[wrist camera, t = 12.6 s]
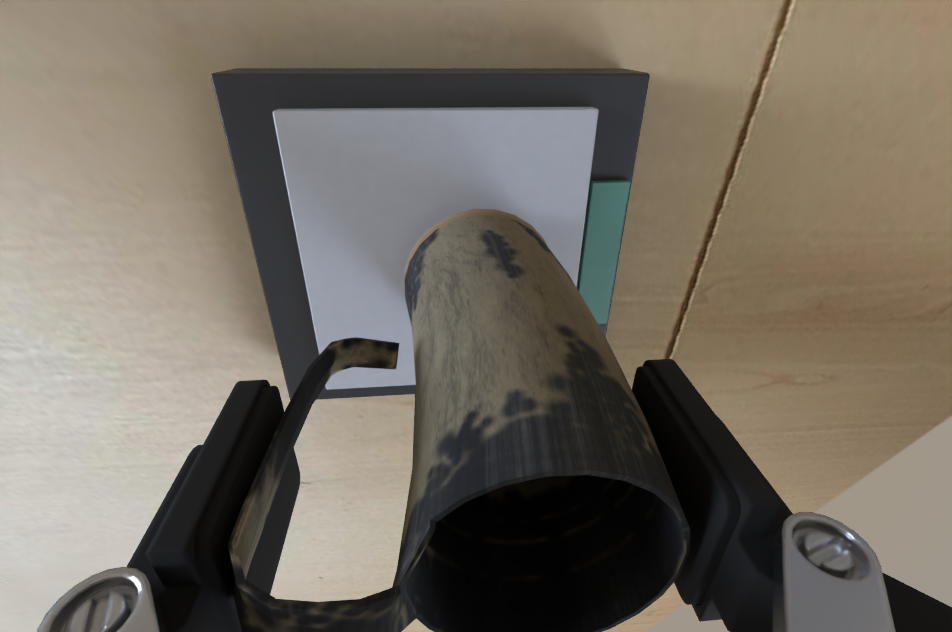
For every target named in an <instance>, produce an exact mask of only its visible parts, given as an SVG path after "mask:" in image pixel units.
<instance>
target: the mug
mask: <svg viewBox="0 0 952 632" xmlns="http://www.w3.org/2000/svg"><path fill="white" fill-rule="evenodd" d="M404 281H405V300H406V305H407V309H408V314H409V318H410V323H411V327H412V336H413V351H414V366H415V380H416V389H415V415H414V442H413V469H412V475H411V482H410V488H409V495H408V501H407V508H406V514H405V521H404V527H403V534H402V540H401V547H400V553H399V560H398V566H397V572H396V575H395V579H394V583H393V587H392V588H390V589H388V590H385V591H382V592H379V593H376V594H373V595H371V596H368V597H365V598H362V599H357V600H342V601H327V602H310V601H297V600H284V599H275V598H274V597H272V596H271V595H269V594H268V593H266V592H264V591H263V590H261V589H260V588H258V587H257V586H255V585H254V584H252V583H251V582H249V581H247V579H246V575H247V572H248V569H249V566H250V563H251V560H252V557H253V555H254V552H255V549H256V546H257V544H258V541H259V538H260V535H261V533H262V530H263V527H264V524H265V522H266V519H267V516H268V513H269V511H270V508H271V505H272V502H273V500H274V497H275V494H276V491H277V489H278V486H279V483H280V481H281V478H282V475H283V472H284V470H285V467H286V464H287V461H288V459H289V456H290V454H291V452H292V450H293V447H294V445H295V443H296V440H297V438H298V436H299V434H300V431H301V429H302V427H303V424H304V422H305V420H306V418H307V415H308V413H309V411H310V408H311V406H312V404H313V403H314V401H315V400H316V398H317V397H318V395H319V394H320V392H321V391H322V389H323V388H324V386H325V385H326V383H327V382H328V380H329V379H330V378H331V376H332V375H333V374H335V373H337V372H339V371H341V370H345V369H348V368H352V367H361V368H378V369H396V367H397V359H398V351H399V343H395V342H388V341H380V340H373V339H366V338H358V337H354V338H346V339H341V340H337V341H333V342H331V343H330V344H329V345H328V346H327V347H326V348H325V349H324V350H323V352H322V353H321V354H320V355H319V356H318V357H317V358H316V359H315V360H314V362H313V363H312V364H311V365H310V366H309V367H308V369H307V371H306V373H305V375H304V376H303V378H302V380H301V382H300V384H299V386H298V388H297V390H296V391H295V393H294V395H293V397H292V399H291V401H290V403H289V405H288V406H287V408H286V410H285V412H284V414H283V416H282V418H281V420H280V423H279V425H278V427H277V429H276V432H275V434H274V436H273V438H272V441H271V443H270V445H269V447H268V450H267V452H266V454H265V456H264V459H263V461H262V463H261V466H260V468H259V470H258V472H257V475H256V477H255V479H254V481H253V484H252V486H251V488H250V490H249V493H248V495H247V497H246V499H245V502H244V504H243V506H242V509H241V511H240V513H239V516H238V519H237V521H236V524H235V526H234V529H233V532H232V534H231V537H230V540H229V542H228V548H229V552H230V557H231V561H232V565H233V570H234V574H235V583H234V591H233V595H234V600H235V604H236V609H237V613H238V618H239V622H240V627H241V631H242V632H401V631H402V630H404V629H405V628H406V627H407V626H408V625H409V624H410V623H411V622H412V621H413V620H415V619H416V618H417V619H418V620H419V621H420V622H421V623H423V624H424V625H425V626H426V627H427V628H428V629H430V630H432V631H434V632H602V631H605V630H608V629H611V628H612V627H614V626H616V625H618V624H620V623H622V622H624V621H626V620H628V619H629V618H631V617H633V616H635V615H637V614H639V613H640V612H641V611H643V610H644V609H645V608H647V607H648V606H649V605H651V604H652V603H653V602H654V601H656V600H657V599H658V598H660V597H661V596H662V595H663V594H664V593H665V592H666V590H667V589H668V588H669V587H670V586H671V585H672V583H673V582H674V581H675V580H676V579H677V578H678V576H679V575H680V573H681V571H682V568H683V566H684V564H685V562H686V560H687V557H688V555H689V553H690V528H689V525H688V523H687V520H686V518H685V515H684V513H683V510H682V507H681V505H680V502H679V500H678V497H677V495H676V492H675V490H674V487H673V485H672V482H671V480H670V477H669V475H668V472H667V470H666V467H665V465H664V462H663V459H662V457H661V454H660V452H659V449H658V447H657V444H656V442H655V439H654V437H653V435H652V432H651V430H650V428H649V425H648V423H647V421H646V419H645V416H644V414H643V412H642V410H641V408H640V406H639V404H638V402H637V400H636V398H635V396H634V394H633V392H632V390H631V388H630V386H629V384H628V382H627V380H626V378H625V376H624V374H623V372H622V370H621V368H620V366H619V364H618V362H617V360H616V357H615V355H614V353H613V351H612V349H611V347H610V345H609V343H608V341H607V339H606V337H605V335H604V333H603V331H602V329H601V328H600V326H599V324H598V323H597V321H596V319H595V318H594V316H593V314H592V313H591V311H590V309H589V308H588V306H587V304H586V303H585V301H584V299H583V298H582V296H581V294H580V293H579V291H578V289H577V288H576V286H575V284H574V283H573V281H572V279H571V278H570V276H569V274H568V273H567V271H566V270H565V269H564V268H563V266H562V265H561V264H560V262H559V261H558V260H557V258H556V257H555V256H554V254H553V253H552V252H551V250H550V249H549V248H548V246H547V244H546V242H545V240H544V239H543V237H542V236H541V235H540V234H539V233H538V232H537V231H536V230H535V229H534V227H533V226H532V225H530V224H529V223H527V222H525V221H524V220H522V219H521V218H519V217H517V216H516V215H513V214H510V213H506V212H503V211H499V210H496V209H471V210H467V211H463V212H459V213H455V214H452V215H450V216H448V217H446V218H444V219H443V220H441V221H439V222H437V223H435V224H434V225H433V226H432V227H431V228H429V229H428V230H427V231H426V232H425V233H424V234H423V235H422V236H421V237H420V238H419V239H418V241H417V243H416V244H415V246H414V248H413V249H412V251H411V252H410V254H409V257H408V261H407V264H406V268H405V272H404Z"/></svg>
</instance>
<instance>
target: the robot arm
mask: <svg viewBox="0 0 952 632" xmlns="http://www.w3.org/2000/svg"><path fill="white" fill-rule="evenodd" d="M632 392H633V394H634V396H635V398H636V400H637V402H638V404H639V406H640V408H641V410H642V412H643V414H644V416H645V419H646V421H647V423H648V425H649V428H650V430H651V432H652V435H653V437H654V439H655V442H656V444H657V447H658V449H659V452H660V454H661V457H662V459H663V462H664V465H665V467H666V470H667V472H668V475H669V477H670V480H671V482H672V485H673V487H674V490H675V492H676V495H677V497H678V500H679V502H680V505H681V507H682V510H683V513H684V515H685V518H686V520H687V523H688V525H689V528H690V553H689V555H688V557H687V560H686V562H685V564H684V566H683V568H682V571H681V573H680V575H679V576H678V578H677V579H676V580H675V581H674V583H675V585H676V587H677V590H678V592H679V594H680V596H681V598H682V600H683V601H684V602H685V603H686V604H687V605H688V604H692V606H693V608H694V610H695V613H696V615H697V617H698V619H699V621H708V620H719V619H722V620H723V622H724V624H725V626H726V628H727V630H728V631H730V632H952V607H950V606H947V605H946V604H944V603H942V602H940V601H938V600H936V599H934V598H932V597H930V596H928V595H926V594H924V593H922V592H920V591H918V590H916V589H914V588H912V587H910V586H908V585H906V584H904V583H902V582H900V581H898V580H896V579H894V578H892V577H890V576H888V575H886V574H884V573H882V570H881V565H880V563H879V561H878V558H877V556H876V554H875V552H874V551H873V550H872V549H871V547H870V546H869V545H868V543H867V542H866V541H865V540H864V539H862V538H861V537H860V536H859V535H858V534H857V533H856V532H855V531H853V530H852V529H850V528H848V527H847V526H845V525H844V524H842V523H841V522H839V521H836V520H834V519H832V518H830V517H827V516H825V515H821V514H816V513H812V512H799V513H796V514H792V512H791V511H790V510H789V508H788V507H787V506H786V504H785V503H784V502H783V500H782V499H781V498H780V497H779V495H778V494H777V493H776V491H775V490H774V489H773V487H772V486H771V485H770V483H769V482H768V481H767V480H766V478H765V477H764V476H763V474H762V473H761V472H760V470H759V469H758V468H757V466H756V465H755V464H754V463H753V461H752V460H751V459H750V457H749V456H748V455H747V453H746V452H745V451H744V450H743V448H742V447H741V446H740V444H739V443H738V442H737V440H736V439H735V438H734V436H733V435H732V434H731V433H730V431H729V430H728V429H727V427H726V426H725V425H724V423H723V422H722V421H721V420H720V419H719V418H718V417H717V416H716V415H715V414H714V412H713V411H712V410H711V408H710V407H709V406H708V404H707V403H706V402H705V400H704V399H703V398H702V397H701V395H700V394H699V393H698V391H697V390H696V389H695V387H694V386H693V385H692V383H691V382H690V381H689V379H688V378H687V377H686V376H685V374H684V373H683V372H682V370H681V369H680V368H679V366H678V365H677V364H676V362H675V361H674V360H672V359H660V360H647V361H645V363H644V364H643V367H638V368H637V370H636V373H635V378H634V382H633V387H632ZM283 414H284V409H283V405H282V401H281V397H280V393H279V390H278V388H277V386H270V384H269V382H268V381H267V380H253V381H239V382H237V383H236V385H235V386H234V388H233V390H232V392H231V394H230V396H229V398H228V399H227V401H226V403H225V405H224V407H223V409H222V411H221V413H220V414H219V416H218V418H217V420H216V422H215V424H214V426H213V428H212V429H211V431H210V433H209V435H208V437H207V439H206V441H205V442H204V444H203V445H198V446H196V447H195V448H193V450H192V451H191V452H190V454H189V455H188V457H187V459H186V461H185V463H184V464H183V466H182V468H181V470H180V472H179V473H178V475H177V477H176V479H175V481H174V482H173V484H172V486H171V488H170V490H169V491H168V493H167V495H166V497H165V499H164V500H163V502H162V504H161V506H160V508H159V509H158V511H157V513H156V515H155V517H154V518H153V520H152V522H151V524H150V526H149V527H148V529H147V531H146V533H145V535H144V536H143V538H142V540H141V542H140V544H139V545H138V547H137V549H136V551H135V553H134V554H133V556H132V558H131V560H130V562H129V563H128V565H127V567H120V568H114V569H108V570H105V571H103V572H100V573H98V574H95V575H92V576H90V577H89V578H87V579H85V580H84V581H82V582H80V583H79V584H77V585H75V586H74V587H73V588H72V589H70V590H69V591H68V592H67V593H65V594H64V595H63V596H62V597H61V598H59V599H58V601H57V602H56V603H55V604H54V605H53V606H52V608H51V609H50V610H49V611H48V612H47V613H46V615H45V617H44V618H43V620H42V622H41V624H40V626H39V627H38V629H37V632H242V631H241V627H240V622H239V618H238V613H237V609H236V604H235V600H234V595H233V591H234V583H235V574H234V570H233V565H232V561H231V557H230V552H229V548H228V542H229V540H230V537H231V534H232V532H233V529H234V526H235V524H236V521H237V519H238V516H239V513H240V511H241V509H242V506H243V504H244V502H245V499H246V497H247V495H248V493H249V490H250V488H251V486H252V484H253V481H254V479H255V477H256V475H257V472H258V470H259V468H260V466H261V463H262V461H263V459H264V456H265V454H266V452H267V450H268V447H269V445H270V443H271V441H272V438H273V436H274V434H275V432H276V429H277V427H278V425H279V423H280V420H281V418H282V416H283ZM299 486H300V471H299V467H298V463H297V459H296V455H295V451H294V448H293V450H292V452H291V454H290V456H289V459H288V461H287V464H286V467H285V470H284V472H283V475H282V478H281V481H280V483H279V486H278V489H277V491H276V494H275V497H274V500H273V502H272V505H271V508H270V511H269V513H268V516H267V519H266V522H265V524H264V527H263V530H262V533H261V535H260V538H259V541H258V544H257V546H256V549H255V552H254V555H253V557H252V560H251V563H250V566H249V569H248V572H247V575H246V579H247V581H249V582H251V583H252V584H254V585H255V586H257V587H258V588H260V589H261V590H263V591H264V592H266V593H268V594H269V595H270V593H271V589H272V585H273V582H274V578H275V574H276V571H277V567H278V563H279V560H280V556H281V552H282V549H283V545H284V541H285V538H286V534H287V530H288V527H289V523H290V519H291V516H292V512H293V508H294V505H295V501H296V497H297V494H298V490H299Z"/></svg>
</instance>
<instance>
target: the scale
mask: <svg viewBox="0 0 952 632" xmlns="http://www.w3.org/2000/svg"><path fill="white" fill-rule="evenodd" d="M211 79H212V83H213V87H214V91H215V95H216V99H217V103H218V107H219V111H220V115H221V120H222V124H223V128H224V132H225V136H226V140H227V144H228V148H229V152H230V156H231V160H232V164H233V168H234V173H235V177H236V181H237V185H238V189H239V193H240V197H241V201H242V205H243V209H244V213H245V217H246V221H247V226H248V230H249V234H250V238H251V242H252V246H253V250H254V254H255V258H256V262H257V266H258V270H259V274H260V279H261V283H262V287H263V291H264V295H265V299H266V303H267V307H268V311H269V315H270V319H271V323H272V327H273V332H274V336H275V340H276V344H277V348H278V352H279V356H280V360H281V364H282V368H283V372H284V376H285V380H286V385H287V389H288V393H289V397H290V400H291V399H292V397H293V395H294V393H295V391H296V390H297V388H298V386H299V384H300V382H301V380H302V378H303V376H304V375H305V373H306V371H307V369H308V367H309V366H310V365H311V364H312V363H313V362H314V360H315V359H316V358H317V357H318V356H319V355H320V354H321V353H322V352H323V350H324V349H325V348H326V347H327V346H328V345H329V344H330V343H331V342H333V341H337V340H341V339H346V338H354V337H358V338H366V339H373V340H380V341H388V342H395V343H399V351H398V359H397V367H396V369H378V368H361V367H352V368H348V369H345V370H341V371H339V372H337V373H335V374H333V375H332V376H331V378H330V379H329V380H328V382H327V383H326V385H325V386H324V388H323V389H322V391H321V392H320V394H319V395H318V397H317V398H316V399H333V398H350V397H368V396H385V395H403V394H415V389H416V380H415V366H414V351H413V336H412V327H411V323H410V318H409V314H408V309H407V305H406V300H405V281H404V272H405V268H406V264H407V261H408V257H409V254H410V252H411V251H412V249H413V248H414V246H415V244H416V243H417V241H418V239H419V238H420V237H421V236H422V235H423V234H424V233H425V232H426V231H427V230H428V229H429V228H431V227H432V226H433V225H434V224H435V223H437V222H439V221H441V220H443V219H444V218H446V217H448V216H450V215H452V214H455V213H459V212H463V211H467V210H471V209H496V210H499V211H503V212H506V213H510V214H513V215H516V216H517V217H519V218H521V219H522V220H524V221H525V222H527V223H529V224H530V225H532V226H533V227H534V229H535V230H536V231H537V232H538V233H539V234H540V235H541V236H542V237H543V239H544V240H545V242H546V244H547V246H548V248H549V249H550V250H551V252H552V253H553V254H554V256H555V257H556V258H557V260H558V261H559V262H560V264H561V265H562V266H563V268H564V269H565V270H566V271H567V273H568V274H569V276H570V278H571V279H572V281H573V283H574V284H575V286H576V288H577V289H578V291H579V293H580V294H581V296H582V298H583V299H584V301H585V303H586V304H587V306H588V308H589V309H590V311H591V313H592V314H593V316H594V318H595V319H596V321H597V323H598V324H599V326H600V328H601V329H602V331H603V333H604V335H605V336H606V330H607V324H608V318H609V312H610V306H611V301H612V295H613V289H614V283H615V277H616V271H617V265H618V259H619V253H620V247H621V241H622V236H623V230H624V224H625V218H626V212H627V206H628V200H629V194H630V188H631V182H632V176H633V170H634V165H635V159H636V153H637V147H638V141H639V135H640V129H641V123H642V117H643V111H644V105H645V99H646V94H647V88H648V82H649V74H648V73H644V72H639V71H633V70H628V69H232V70H227V71H222V72H217V73H213V74H211Z"/></svg>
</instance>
